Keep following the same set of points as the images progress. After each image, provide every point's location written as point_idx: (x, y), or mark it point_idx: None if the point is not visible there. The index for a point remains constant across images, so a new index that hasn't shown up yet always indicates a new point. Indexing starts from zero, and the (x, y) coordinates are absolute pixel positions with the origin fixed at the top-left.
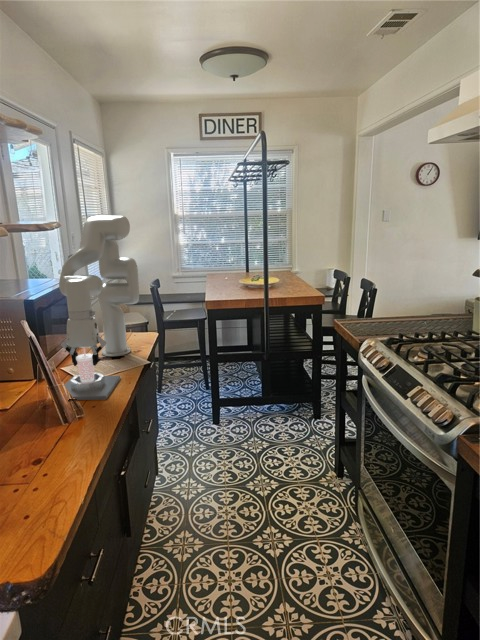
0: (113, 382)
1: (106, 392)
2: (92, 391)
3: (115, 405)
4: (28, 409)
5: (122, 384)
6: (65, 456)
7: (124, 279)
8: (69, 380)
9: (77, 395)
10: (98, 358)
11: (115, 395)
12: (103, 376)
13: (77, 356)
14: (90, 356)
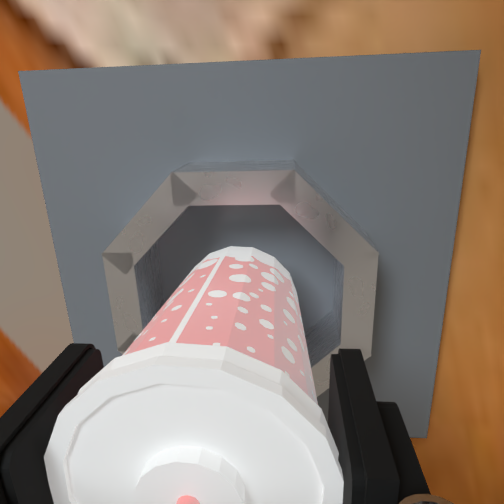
0: (437, 218)
1: (417, 388)
2: None
3: (488, 486)
4: None
5: (500, 189)
6: None
7: None
8: (45, 168)
9: None
10: (404, 437)
11: (469, 371)
12: (376, 270)
13: (66, 487)
14: (283, 490)
